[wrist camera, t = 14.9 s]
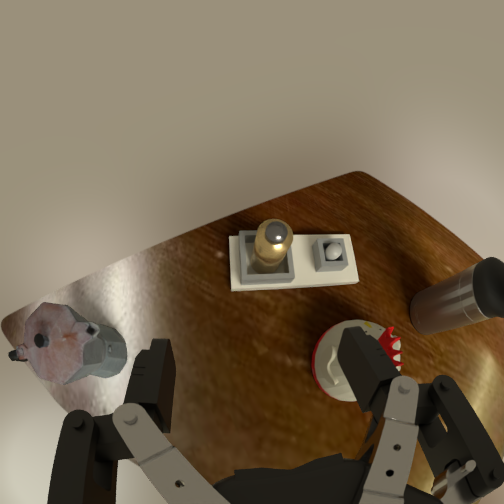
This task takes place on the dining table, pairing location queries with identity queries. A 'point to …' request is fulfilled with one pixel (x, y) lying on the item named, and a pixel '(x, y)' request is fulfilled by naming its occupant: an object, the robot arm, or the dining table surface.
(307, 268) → the white tray
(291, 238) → the gold bottle
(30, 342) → the moka pot
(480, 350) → the dining table surface
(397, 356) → the kitchen timer
